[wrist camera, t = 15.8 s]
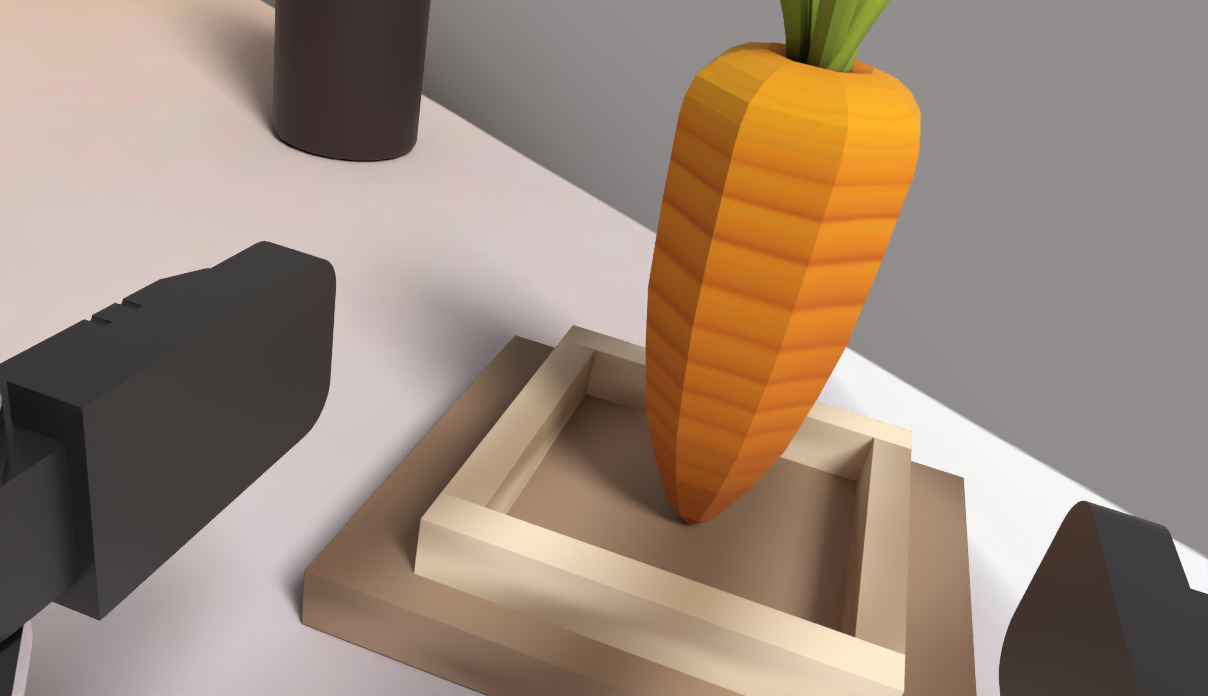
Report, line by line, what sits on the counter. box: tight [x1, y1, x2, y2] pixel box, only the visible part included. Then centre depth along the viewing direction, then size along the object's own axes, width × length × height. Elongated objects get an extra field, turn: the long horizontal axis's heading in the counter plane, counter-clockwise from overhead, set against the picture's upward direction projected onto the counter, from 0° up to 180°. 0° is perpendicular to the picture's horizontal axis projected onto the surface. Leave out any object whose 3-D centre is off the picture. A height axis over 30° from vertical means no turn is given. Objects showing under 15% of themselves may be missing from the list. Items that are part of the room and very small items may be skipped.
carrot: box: [646, 0, 921, 525], centre depth 21 cm, size 5×5×15 cm
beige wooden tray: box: [302, 325, 976, 696], centre depth 24 cm, size 14×12×3 cm
